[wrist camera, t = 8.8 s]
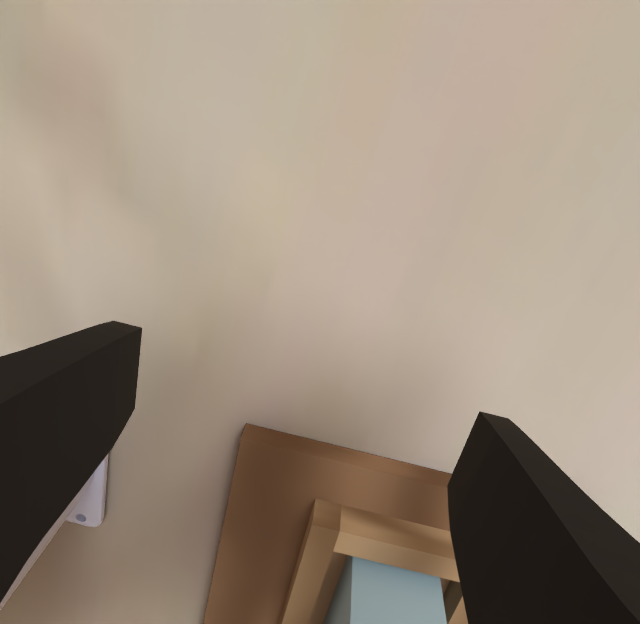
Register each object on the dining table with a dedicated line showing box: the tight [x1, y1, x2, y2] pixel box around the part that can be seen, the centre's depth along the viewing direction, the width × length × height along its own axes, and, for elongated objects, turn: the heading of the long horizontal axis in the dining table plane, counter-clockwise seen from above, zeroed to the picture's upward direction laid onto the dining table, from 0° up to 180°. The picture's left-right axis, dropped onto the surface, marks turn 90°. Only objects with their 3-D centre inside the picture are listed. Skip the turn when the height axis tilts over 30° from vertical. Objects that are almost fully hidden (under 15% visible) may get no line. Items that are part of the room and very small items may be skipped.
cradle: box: [203, 424, 468, 624], centre depth 25 cm, size 16×18×2 cm
